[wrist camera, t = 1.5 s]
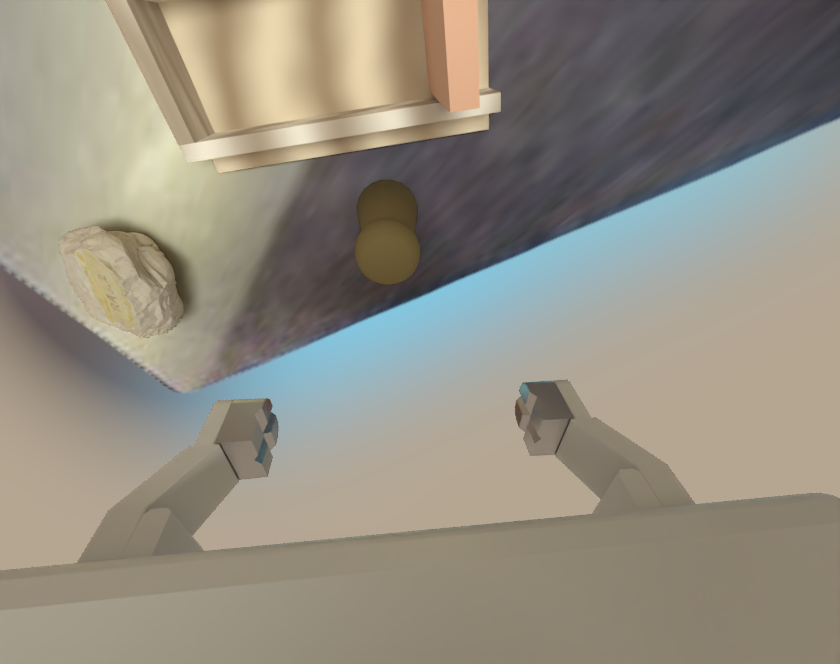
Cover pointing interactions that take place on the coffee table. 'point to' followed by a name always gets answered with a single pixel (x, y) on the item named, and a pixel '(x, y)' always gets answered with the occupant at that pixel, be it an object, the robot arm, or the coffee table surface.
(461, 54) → the block
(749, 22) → the coffee table surface
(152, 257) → the fossil replica
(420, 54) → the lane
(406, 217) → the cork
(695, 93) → the coffee table surface
